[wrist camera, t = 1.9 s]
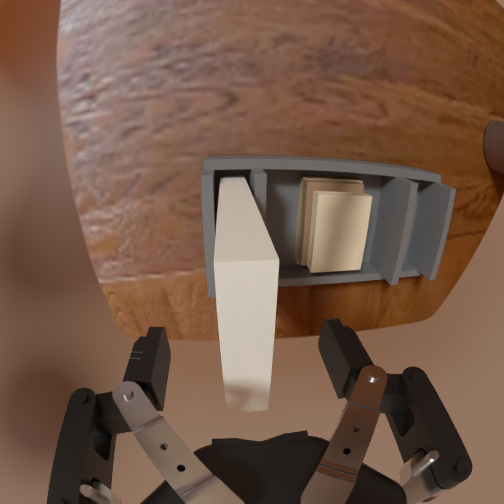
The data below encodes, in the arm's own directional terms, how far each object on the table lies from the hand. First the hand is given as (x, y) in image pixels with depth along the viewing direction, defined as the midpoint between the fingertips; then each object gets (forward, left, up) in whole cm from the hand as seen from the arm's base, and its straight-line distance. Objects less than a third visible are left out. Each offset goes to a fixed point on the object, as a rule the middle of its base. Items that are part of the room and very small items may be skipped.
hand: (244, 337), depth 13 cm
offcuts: (-11, 0, -19) cm, 22 cm away
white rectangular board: (0, 0, -19) cm, 19 cm away
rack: (-11, 0, -20) cm, 23 cm away
